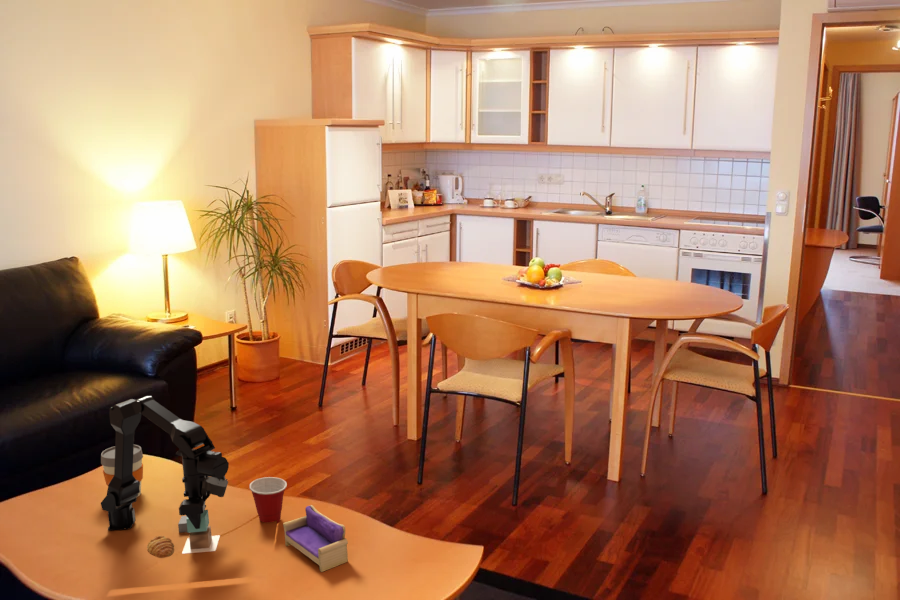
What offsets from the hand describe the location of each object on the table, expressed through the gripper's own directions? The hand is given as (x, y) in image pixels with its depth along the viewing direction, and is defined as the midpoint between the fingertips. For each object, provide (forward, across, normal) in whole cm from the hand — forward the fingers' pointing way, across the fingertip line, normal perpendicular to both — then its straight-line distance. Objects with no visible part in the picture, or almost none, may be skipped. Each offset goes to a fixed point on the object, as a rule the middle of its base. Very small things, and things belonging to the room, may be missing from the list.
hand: (199, 524), depth 231 cm
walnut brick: (+6, 0, 0) cm, 6 cm away
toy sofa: (+8, -9, -32) cm, 34 cm away
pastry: (+8, 0, +10) cm, 13 cm away
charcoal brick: (+7, +11, +5) cm, 14 cm away
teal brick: (+1, 0, 0) cm, 1 cm away
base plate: (+7, 0, 0) cm, 7 cm away
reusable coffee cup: (+8, +41, +30) cm, 51 cm away
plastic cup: (+7, +13, -18) cm, 23 cm away
